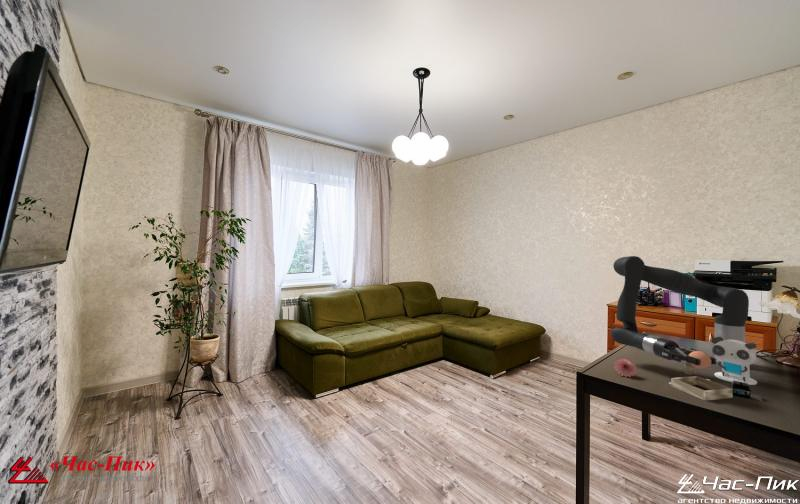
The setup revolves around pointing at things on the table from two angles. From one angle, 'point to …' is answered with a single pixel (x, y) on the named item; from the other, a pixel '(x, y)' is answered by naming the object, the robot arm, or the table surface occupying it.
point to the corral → (712, 394)
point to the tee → (688, 368)
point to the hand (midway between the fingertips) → (707, 362)
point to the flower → (625, 367)
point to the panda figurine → (734, 359)
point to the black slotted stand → (743, 394)
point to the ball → (701, 359)
